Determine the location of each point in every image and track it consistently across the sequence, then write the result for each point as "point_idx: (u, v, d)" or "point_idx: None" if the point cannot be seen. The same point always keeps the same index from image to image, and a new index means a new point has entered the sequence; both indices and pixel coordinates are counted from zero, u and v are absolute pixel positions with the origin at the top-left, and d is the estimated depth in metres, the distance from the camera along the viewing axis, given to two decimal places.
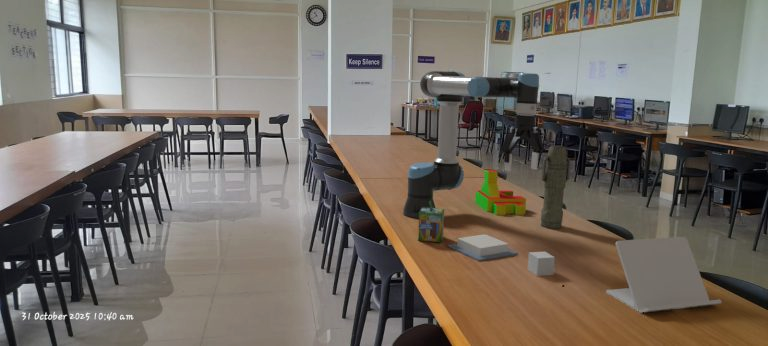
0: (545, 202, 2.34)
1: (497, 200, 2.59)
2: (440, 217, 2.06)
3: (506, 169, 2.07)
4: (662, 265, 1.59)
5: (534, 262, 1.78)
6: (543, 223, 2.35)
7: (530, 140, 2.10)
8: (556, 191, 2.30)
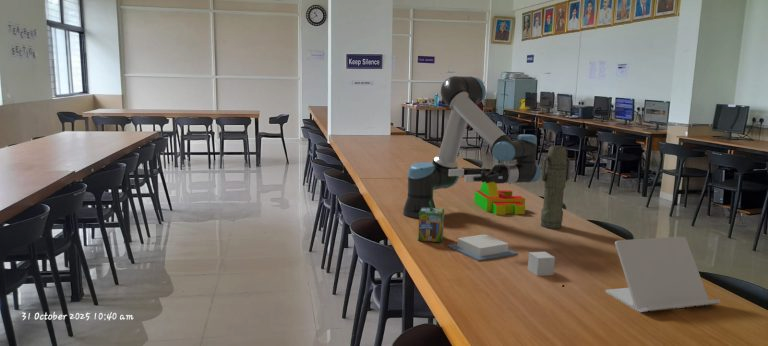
0: (545, 202, 2.34)
1: (496, 200, 2.59)
2: (440, 217, 2.06)
3: (466, 178, 2.05)
4: (662, 264, 1.59)
5: (534, 262, 1.78)
6: (543, 223, 2.35)
7: (478, 173, 2.19)
8: (556, 191, 2.30)
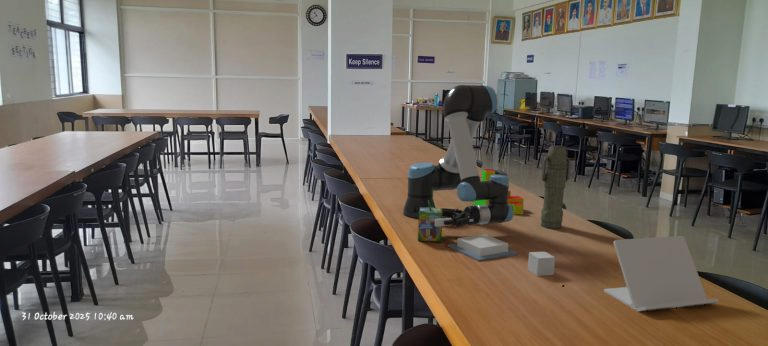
0: (545, 202, 2.34)
1: None
2: (440, 216, 2.07)
3: (437, 222, 2.04)
4: (660, 264, 1.60)
5: (534, 262, 1.78)
6: (543, 223, 2.35)
7: (450, 214, 2.18)
8: (556, 191, 2.30)
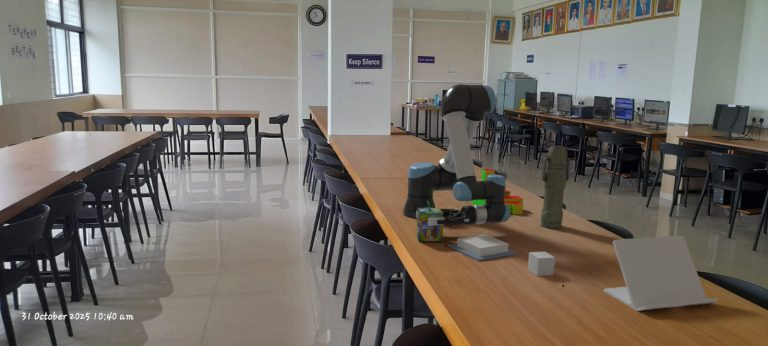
0: (545, 202, 2.34)
1: None
2: (441, 216, 2.07)
3: (430, 221, 2.05)
4: (660, 263, 1.60)
5: (534, 262, 1.78)
6: (543, 223, 2.35)
7: (446, 215, 2.17)
8: (556, 191, 2.30)
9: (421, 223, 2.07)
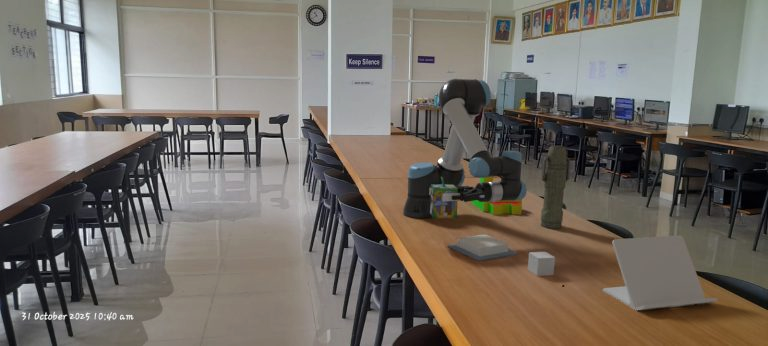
0: (545, 202, 2.34)
1: None
2: (456, 192, 2.00)
3: (444, 197, 1.98)
4: (659, 263, 1.60)
5: (534, 262, 1.78)
6: (543, 223, 2.35)
7: (461, 192, 2.11)
8: (556, 191, 2.30)
9: (435, 199, 2.01)
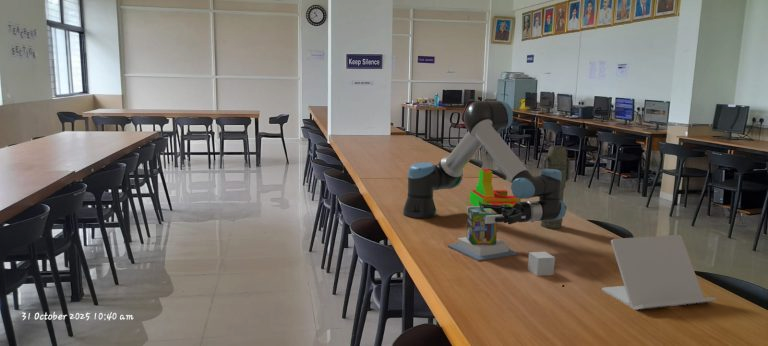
0: None
1: (492, 200, 2.59)
2: None
3: (487, 219, 1.90)
4: (657, 263, 1.61)
5: (534, 262, 1.78)
6: (543, 223, 2.35)
7: (498, 211, 2.04)
8: None
9: (474, 224, 1.94)
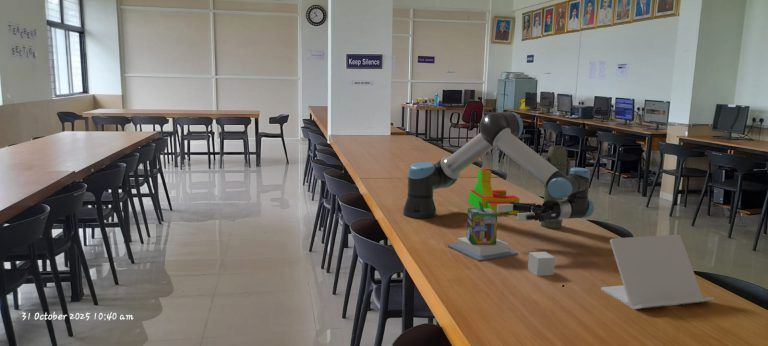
0: None
1: (491, 200, 2.59)
2: (495, 217, 1.94)
3: (519, 216, 1.95)
4: (656, 262, 1.61)
5: (534, 262, 1.78)
6: (543, 223, 2.35)
7: (528, 209, 2.08)
8: None
9: (474, 224, 1.94)
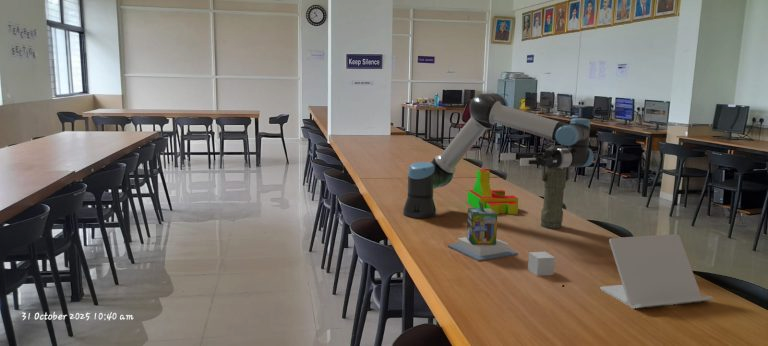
0: (545, 202, 2.34)
1: (490, 200, 2.59)
2: (495, 217, 1.94)
3: (522, 161, 2.02)
4: (655, 262, 1.61)
5: (534, 262, 1.78)
6: (543, 223, 2.35)
7: (530, 158, 2.16)
8: (556, 191, 2.30)
9: (474, 224, 1.94)
